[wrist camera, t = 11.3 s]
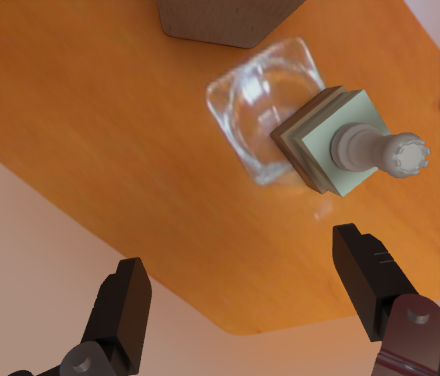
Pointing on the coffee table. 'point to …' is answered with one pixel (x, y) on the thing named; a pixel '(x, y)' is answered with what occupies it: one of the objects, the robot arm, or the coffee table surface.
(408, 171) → the rook chess piece
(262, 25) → the block
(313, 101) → the tower base
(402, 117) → the coffee table surface
